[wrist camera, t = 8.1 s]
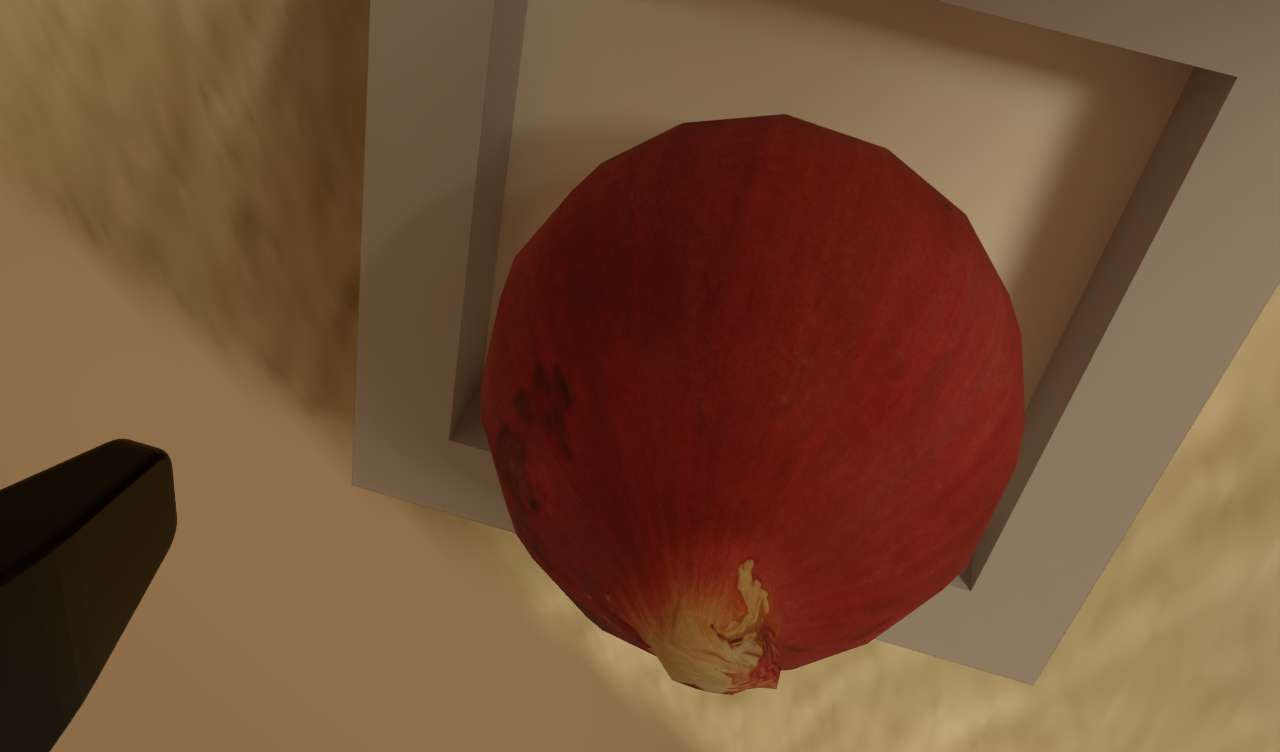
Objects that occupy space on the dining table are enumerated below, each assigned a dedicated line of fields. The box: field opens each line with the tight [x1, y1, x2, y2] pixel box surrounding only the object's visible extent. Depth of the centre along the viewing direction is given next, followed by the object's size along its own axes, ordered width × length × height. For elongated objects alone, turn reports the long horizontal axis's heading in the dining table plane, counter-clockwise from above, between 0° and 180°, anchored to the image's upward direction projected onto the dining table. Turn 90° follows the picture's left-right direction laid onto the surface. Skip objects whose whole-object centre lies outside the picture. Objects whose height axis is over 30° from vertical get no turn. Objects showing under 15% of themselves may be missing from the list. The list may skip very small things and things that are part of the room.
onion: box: [481, 114, 1025, 695], centre depth 13 cm, size 6×6×8 cm
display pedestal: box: [352, 0, 1280, 685], centre depth 17 cm, size 12×12×6 cm
